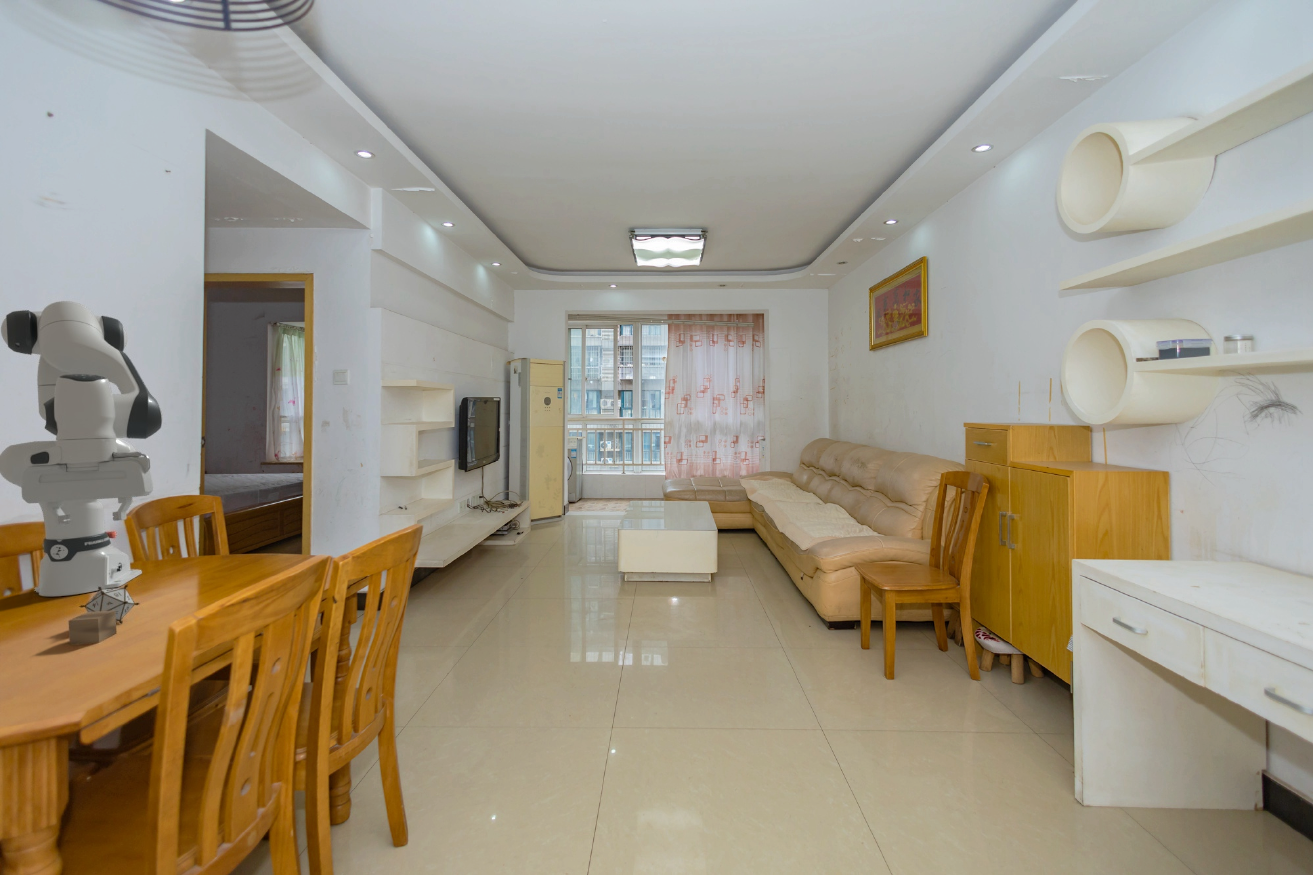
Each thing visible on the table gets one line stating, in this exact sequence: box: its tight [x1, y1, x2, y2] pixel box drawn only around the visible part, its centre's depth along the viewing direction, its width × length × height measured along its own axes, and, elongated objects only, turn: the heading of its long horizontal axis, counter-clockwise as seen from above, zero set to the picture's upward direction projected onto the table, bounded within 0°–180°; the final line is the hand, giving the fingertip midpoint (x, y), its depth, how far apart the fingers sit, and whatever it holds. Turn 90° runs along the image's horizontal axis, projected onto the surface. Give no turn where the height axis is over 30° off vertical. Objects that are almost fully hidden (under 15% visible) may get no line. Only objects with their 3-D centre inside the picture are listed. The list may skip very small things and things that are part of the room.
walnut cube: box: [68, 610, 117, 646], centre depth 120 cm, size 5×5×5 cm
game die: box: [78, 583, 140, 625], centre depth 129 cm, size 9×8×10 cm
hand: (91, 522), depth 119 cm, fingers open, 8 cm apart
